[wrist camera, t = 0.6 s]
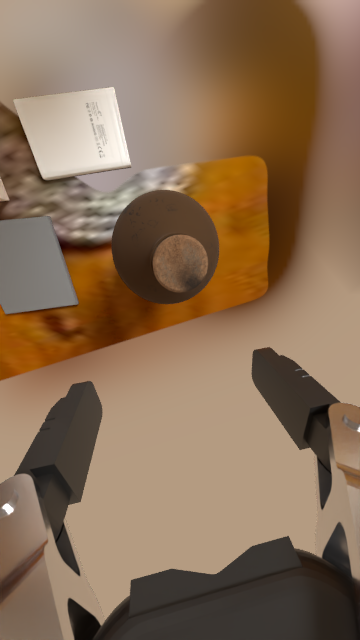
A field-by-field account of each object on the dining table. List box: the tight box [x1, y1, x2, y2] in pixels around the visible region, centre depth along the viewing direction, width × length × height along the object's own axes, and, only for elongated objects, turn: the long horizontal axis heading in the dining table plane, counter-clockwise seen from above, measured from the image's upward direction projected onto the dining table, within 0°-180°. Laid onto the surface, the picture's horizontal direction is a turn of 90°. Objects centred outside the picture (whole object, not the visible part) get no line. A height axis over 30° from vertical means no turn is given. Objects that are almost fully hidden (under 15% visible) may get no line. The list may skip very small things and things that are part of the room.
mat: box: [0, 216, 79, 314], centre depth 31 cm, size 14×12×1 cm
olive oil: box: [112, 190, 219, 304], centre depth 22 cm, size 11×11×25 cm
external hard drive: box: [13, 87, 131, 180], centre depth 26 cm, size 2×8×12 cm
